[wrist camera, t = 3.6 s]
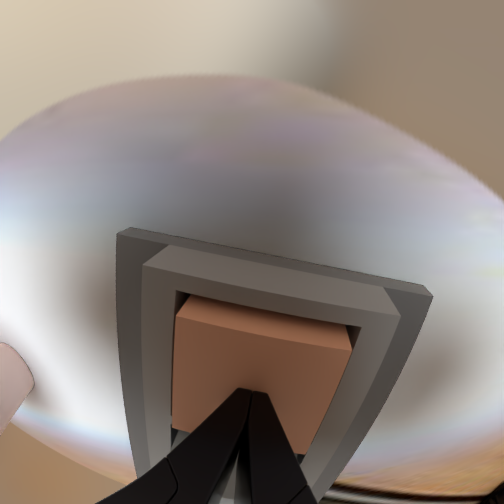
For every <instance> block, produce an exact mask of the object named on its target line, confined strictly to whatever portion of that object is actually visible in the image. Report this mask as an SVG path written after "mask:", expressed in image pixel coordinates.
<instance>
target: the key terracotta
mask: <svg viewBox="0 0 504 504" xmlns="http://www.w3.org/2000/svg"><path fill="white" fill-rule="evenodd" d="M351 353H352V348H351V344H350V340H349V337H348V333H347V329H346V326H345V324H340V323H334V322H329V321H323V320H317V319H312V318H306V317H301V316H295V315H290V314H285V313H280V312H275V311H269V310H264V309H259V308H255V307H250V306H245V305H240V304H235V303H231V302H226V301H222V300H217V299H212V298H208V297H204V296H199V295H195V294H191V295H190V297H189V298H188V299H187V301H186V302H185V304H184V305H183V306H182V308H181V309H180V311H179V312H178V313H177V315H176V321H175V338H174V360H173V393H172V428H175V429H179V430H182V431H186V432H189V433H191V432H192V431H193V430H195V429H196V428H197V427H198V426H199V425H200V424H201V423H202V422H203V421H204V420H205V419H206V418H207V417H208V416H209V415H210V414H211V413H212V412H213V411H214V410H215V409H216V408H217V407H218V406H219V405H220V404H221V403H222V402H223V401H224V400H225V399H226V398H227V397H228V396H229V395H230V394H231V393H232V392H233V391H234V390H235V389H237V388H238V387H240V388H245V389H250V390H252V392H253V391H260V392H266V393H267V394H268V395H269V397H270V399H271V402H272V404H273V406H274V409H275V411H276V413H277V416H278V418H279V420H280V422H281V425H282V427H283V429H284V431H285V434H286V436H287V438H288V440H289V443H290V445H291V447H292V449H293V451H294V453H296V454H304V455H305V454H306V452H307V450H308V448H309V447H310V445H311V443H312V441H313V439H314V437H315V435H316V433H317V431H318V428H319V426H320V424H321V422H322V420H323V418H324V416H325V414H326V412H327V409H328V407H329V405H330V403H331V401H332V398H333V396H334V394H335V391H336V389H337V387H338V385H339V382H340V380H341V377H342V375H343V373H344V370H345V368H346V365H347V363H348V360H349V358H350V355H351Z"/></svg>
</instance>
